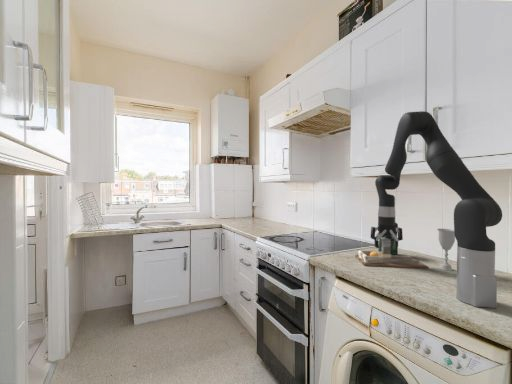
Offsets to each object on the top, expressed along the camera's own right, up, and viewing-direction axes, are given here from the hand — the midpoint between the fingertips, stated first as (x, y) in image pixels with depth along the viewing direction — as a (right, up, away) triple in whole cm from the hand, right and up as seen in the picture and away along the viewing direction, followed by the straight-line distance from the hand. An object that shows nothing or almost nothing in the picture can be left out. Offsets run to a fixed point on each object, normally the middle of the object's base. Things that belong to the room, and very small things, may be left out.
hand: (386, 248), depth 124 cm
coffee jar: (+9, -7, +16) cm, 20 cm away
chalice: (+22, -8, -10) cm, 25 cm away
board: (+1, -7, 0) cm, 7 cm away
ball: (-6, -4, +1) cm, 7 cm away
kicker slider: (-1, -5, 0) cm, 6 cm away
